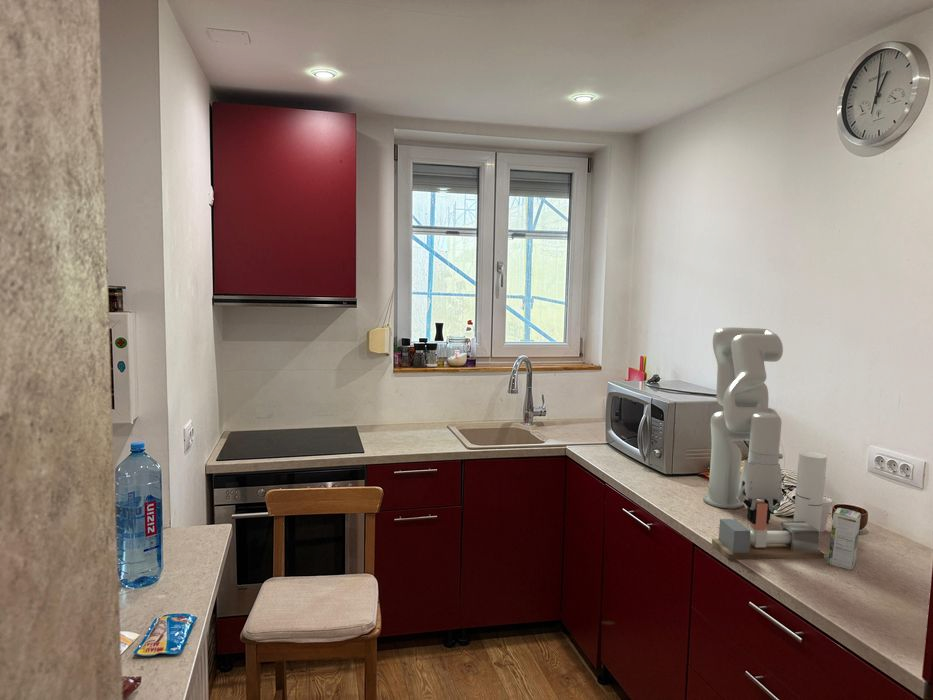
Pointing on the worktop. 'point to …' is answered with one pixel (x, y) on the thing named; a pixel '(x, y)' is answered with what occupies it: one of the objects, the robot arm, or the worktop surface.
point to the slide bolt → (758, 530)
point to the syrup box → (844, 538)
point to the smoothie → (825, 512)
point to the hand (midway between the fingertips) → (758, 521)
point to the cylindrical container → (810, 488)
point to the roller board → (782, 545)
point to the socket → (734, 535)
